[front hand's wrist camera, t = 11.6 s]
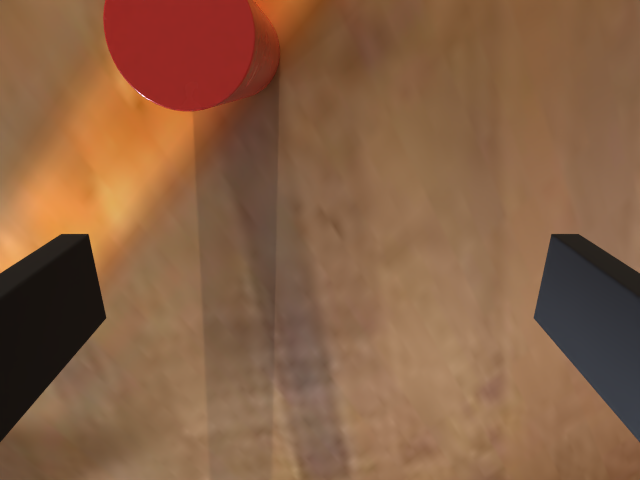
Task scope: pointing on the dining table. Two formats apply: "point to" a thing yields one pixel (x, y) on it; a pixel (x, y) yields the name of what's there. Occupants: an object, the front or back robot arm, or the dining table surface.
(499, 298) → the dining table surface
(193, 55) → the canister
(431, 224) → the dining table surface
